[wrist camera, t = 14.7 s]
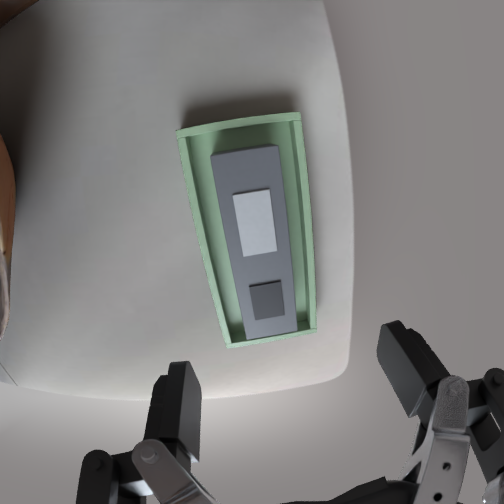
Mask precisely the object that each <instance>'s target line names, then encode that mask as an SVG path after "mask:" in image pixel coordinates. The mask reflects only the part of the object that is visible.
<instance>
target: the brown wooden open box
mask: <svg viewBox="0 0 504 504" xmlns="http://www.w3.org/2000/svg"><path fill="white" fill-rule="evenodd" d="M37 1H39V0H0V28H1V27H3V26H4V25H5V24H6V23H8V22H9V21H10V20H11V19H13V18H14V17H15V16H17V15H18V14H20V13H21V12H22V11H24V10H25V9H27V8H28V7H29V6H31V5H32V4H34V3H35V2H37Z"/></svg>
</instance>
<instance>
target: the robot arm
mask: <svg viewBox="0 0 504 504" xmlns="http://www.w3.org/2000/svg"><path fill="white" fill-rule="evenodd" d="M377 357H378V361H379V363H380V365H381V367H382V369H383V370H384V372H385V374H386V376H387V378H388V379H389V381H390V383H391V385H392V387H393V389H394V391H395V392H396V394H397V396H398V398H399V400H400V402H401V404H402V406H403V408H404V410H405V412H406V414H407V416H408V418H411V417H413V416H415V415H418V416H419V421H418V425H417V429H416V433H415V436H414V440H413V443H412V447H411V450H410V453H409V457H408V459H407V461H406V463H405V465H404V467H403V469H402V471H401V473H400V476H399V478H398V480H390V481H389V480H388V481H386V479H385V477H381V478H379V479H376V480H373V481H371V482H368V483H365V484H362V485H359V486H356V487H355V488H353V489H351V490H349V491H347V492H346V493H344V494H342V495H340V496H338V497H336V498H334V499H332V500H329V501H310V502H309V501H305V502H304V501H295V502H289V503H282V504H463V503H460V502H457V500H458V497H459V493H460V489H461V486H462V482H463V477H464V473H465V468H466V464H467V458H468V453H469V446H470V444H471V446H472V449H473V451H474V453H475V455H476V457H477V460H478V462H479V464H480V467H481V469H482V472H483V474H484V476H485V479H486V481H487V484H488V485H487V487H486V489H485V493H484V495H483V501H484V502H485V504H504V371H503V370H502V369H499V368H492V369H490V370H488V371H487V372H486V374H485V376H484V377H483V378H482V379H477V380H471V381H465V380H464V379H463V378H461V377H459V376H455V375H452V376H451V375H450V374H449V372H448V371H447V370H446V368H445V367H444V365H443V364H442V363H441V361H440V360H439V359H438V357H437V356H436V354H435V353H434V352H433V351H432V350H431V348H430V346H429V345H428V344H426V341H425V340H424V338H423V337H422V336H421V335H420V334H419V333H418V332H416V331H414V330H413V329H411V328H410V329H406V328H405V326H404V325H403V324H402V322H400V321H399V320H396V321H393V322H390V323H386V324H383V325H382V326H381V330H380V336H379V341H378V346H377ZM201 399H202V394H201V387H200V384H199V381H198V379H197V377H196V375H195V372H194V370H193V368H192V366H191V363H190V362H189V361H181V362H171V363H170V365H169V370H168V375H161V376H160V377H159V378H158V380H157V381H156V383H155V384H154V387H153V392H152V398H151V403H150V407H149V412H148V418H147V423H146V429H145V434H144V438H143V441H141V442H139V443H138V444H137V445H136V446H135V447H134V449H133V450H132V451H129V452H125V453H120V454H116V455H109V454H108V453H107V452H105V451H103V450H93V451H91V452H89V453H88V454H87V455H86V456H85V457H84V459H83V462H82V467H81V473H80V478H79V485H78V491H77V498H76V504H146V495H151V494H154V495H155V496H156V498H157V499H158V501H159V502H160V504H220V503H219V502H218V501H217V500H216V499H215V498H214V497H213V496H212V495H211V494H210V493H209V492H208V490H207V489H206V488H205V487H204V486H203V485H202V484H201V483H200V482H199V481H198V480H197V478H196V477H195V476H194V475H193V474H192V473H191V472H190V470H191V462H199V449H200V421H201V420H200V419H201ZM491 412H492V414H493V416H494V418H495V420H496V422H497V423H498V425H499V427H500V430H501V432H500V430H499V429H498V427H497V425H496V423H495V421H494V419H493V417H492V416H491V414H490V413H491Z"/></svg>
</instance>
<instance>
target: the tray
mask: <svg viewBox="0 0 504 504" xmlns="http://www.w3.org/2000/svg"><path fill="white" fill-rule="evenodd" d="M176 136H177V138H178V139H177V141H178V146H179V152H180V157H181V162H182V167H183V172H184V177H185V182H186V187H187V192H188V197H189V201H190V206H191V210H192V215H193V219H194V224H195V228H196V233H197V237H198V241H199V245H200V250H201V254H202V258H203V262H204V266H205V270H206V274H207V278H208V282H209V286H210V290H211V293H212V297H213V301H214V305H215V308H216V312H217V316H218V319H219V323H220V327H221V330H222V334H223V337H224V341H225V344H226V348H233V347H240V346H246V345H253V344H259V343H265V342H270V341H276V340H281V339H286V338H292V337H297V336H301V335H306V334H311V333H315V332H317V328H316V286H315V263H314V245H313V230H312V216H311V204H310V193H309V182H308V172H307V163H306V154H305V146H304V138H303V130H302V122H301V115H300V112H287V113H277V114H267V115H259V116H251V117H244V118H237V119H231V120H225V121H219V122H214V123H208V124H203V125H198V126H193V127H189V128H184V129H180V130H176ZM270 143H271V144H275V145H278V146H279V152H280V160H281V167H282V175H283V183H284V191H285V200H286V208H287V217H288V226H289V236H290V246H291V256H292V266H293V277H294V289H295V301H296V314H297V328H298V330H297V331H293V332H288V333H283V334H278V335H272V336H266V337H261V338H255V339H249V340H247V339H246V334H245V330H244V325H243V321H242V316H241V311H240V307H239V302H238V297H237V293H236V288H235V283H234V278H233V274H232V269H231V264H230V259H229V254H228V249H227V244H226V239H225V234H224V229H223V224H222V219H221V214H220V209H219V203H218V198H217V193H216V188H215V182H214V177H213V171H212V166H211V160H210V155H211V154H212V153H213V152H219V151H224V150H230V149H236V148H242V147H249V146H256V145H263V144H270Z"/></svg>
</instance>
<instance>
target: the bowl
mask: <svg viewBox="0 0 504 504" xmlns="http://www.w3.org/2000/svg"><path fill="white" fill-rule="evenodd" d="M15 197H16V185H15V177H14V169H13V166H12V162H11V159H10V157H9V154H8V151H7V148H6V145H5V143H4V141H3V139H2V136H1V134H0V340H1V339H2V337H3V335H4V333H5V330H6V327H7V325H8V320H9V311H10V275H11V256H12V244H13V235H14V221H15Z"/></svg>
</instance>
